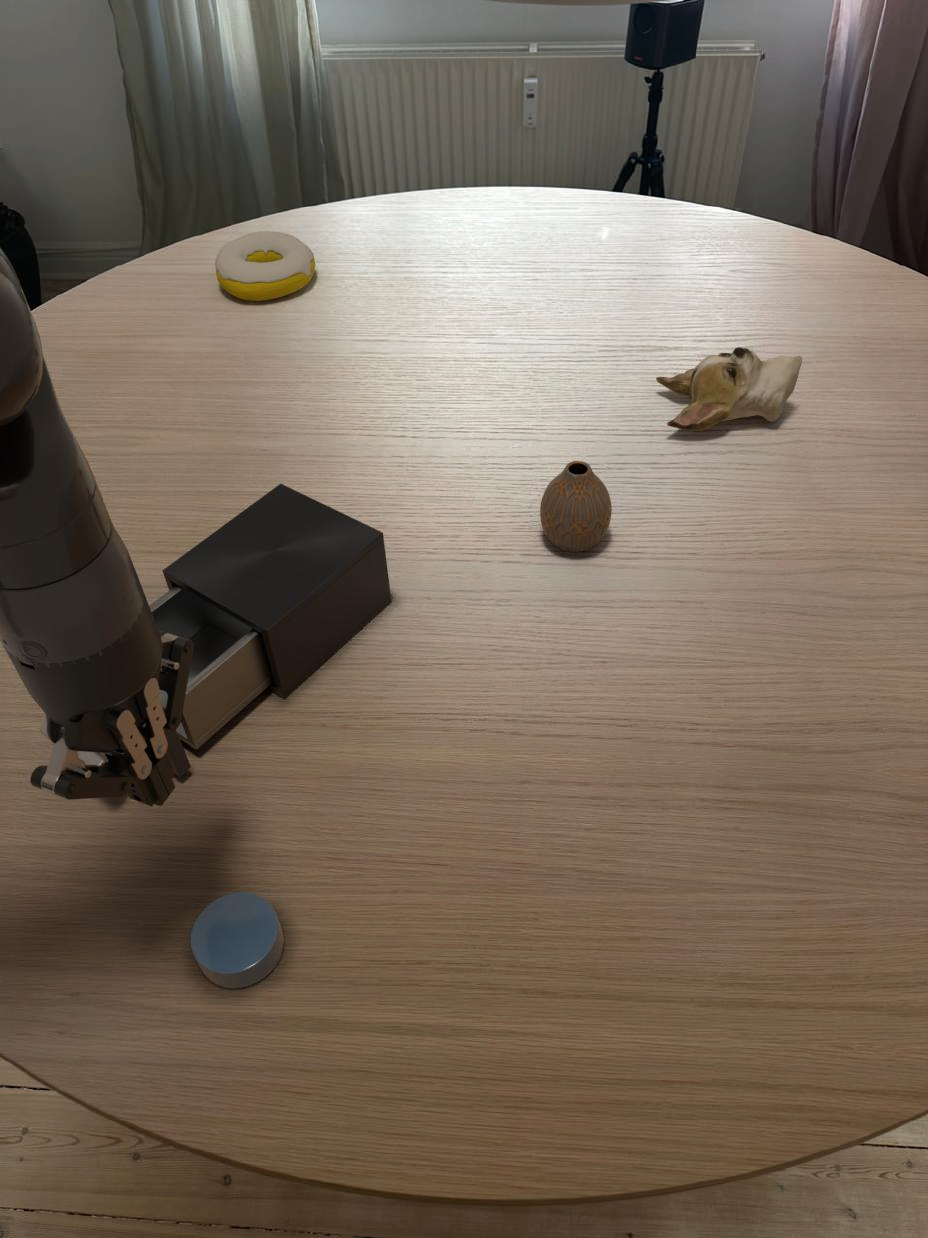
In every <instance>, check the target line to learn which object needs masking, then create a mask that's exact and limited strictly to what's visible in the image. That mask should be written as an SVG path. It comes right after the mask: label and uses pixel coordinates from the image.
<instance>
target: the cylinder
mask: <svg viewBox="0 0 928 1238" xmlns="http://www.w3.org/2000/svg"><path fill="white" fill-rule="evenodd" d="M284 946H285V936H284V932H283V929H282V925H281V922H280V920H279V916H278V914H277V912H276V910H275V908H274V906H273V905H272V904H271V903H270V902H269V901H268V900H267V899H265V898H264V897H263V896H261V895H259V894H256V893H252V892H246V891H239V892H231V893H228V894H225V895H223V896H220V897H219V898H216V899H215V900H213V901H211V902H210V903H209V904H208V905H206V906H205V908H204V909H202V910H201V912H200V914H199V915H198V917H197V918H196V919H195V922H194V923H193V926H192V928H191V933H190V947H191V948H190V949H191V951H192V954H193V956H194V959H195V961H196V962H197V964H198V967H199V968H200V970H201V972H202V973H203V975H204V976H205V977H206V979H207V980H208V981H209V982H211V983H213V984H214V985H216V986H218V987H221V988H224V989H233V990H234V989H244V988H247V987H250V986H253V985H255V984H257V983H259V982H261V981H262V980H264V979H265V978H266V977H267V976H268V975H269V974H271V973H272V971H273V970H274V968H276V966H277V965H278V963H279V961H280V960H281V957H282V954H283V951H284Z"/></svg>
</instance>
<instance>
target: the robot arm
mask: <svg viewBox="0 0 928 1238" xmlns="http://www.w3.org/2000/svg"><path fill="white" fill-rule="evenodd" d="M138 575H139V574H137V571H136V568H135V565H134V563H133V560H132V558H131V555H130V552H129V550H128V548H127V546H126V544H125V542H124V541H123V539H122V537H121V535H120V534H119V532H118V530H117V529H116V527H115V526H114V523H113V522H112V519H111V516H110V514H109V511H108V508H107V506H106V503H105V501H104V498H103V495H102V493H101V490H100V488H99V484H98V482H97V480H96V477H95V475H94V473H93V470H92V468H91V466H90V464H89V461H88V459H87V457H86V455H85V453H84V452H83V450H82V448H81V446H80V444H79V442H78V440H77V438H76V436H75V435H74V433H73V430H72V429H71V427H70V426H69V423H68V421H67V419H66V417H65V415H64V412H63V410H62V407H61V405H60V402H59V399H58V397H57V393H56V390H55V387H54V384H53V381H52V378H51V375H50V371H49V368H48V365H47V362H46V360H45V356H44V352H43V344H42V339H41V335H40V332H39V330H38V327H37V323H36V320H35V318H34V315H33V313H32V310H31V308H30V306H29V303H28V301H27V298H26V295H25V293H24V290H23V288H22V285H21V283H20V280H19V276H17V273H16V270H15V268H14V267H13V264H12V262H11V260H10V259H9V258H8V256H7V254H6V253H5V251H4V250H3V249H2V247H0V643H1V645H2V647H3V648H4V650H5V652H6V654H7V656H8V658H9V659H10V661H11V663H12V665H13V667H14V669H15V670H16V672H17V674H18V676H19V678H20V680H21V681H22V683H23V685H24V687H25V689H26V690H27V693H28V694H29V695H30V697H31V699H33V701H34V702H35V703H36V705H38V707H39V708H40V709H41V710H42V711H43V713H44V714H45V720H47V735H48V737H49V739H48V740H50V742H51V743H53V744H54V745H53V749H52V752H51V755H50V758H49V761H48V764H47V765H44V764H43V765H39V766H37V767H35V769H34V770H33V771H32V773H31V776H30V784H31V786H32V787H35V788H38V789H40V790H43V791H45V792H47V793H49V794H52V795H55V796H58V797H61V798H64V799H66V800H68V801H69V800H71V801H72V800H88V799H102V798H103V799H105V798H119V797H125V796H126V795H128V797H129V798H130V799H131V800H133V801H136V802H138V803H141V804H144V805H146V806H148V807H153V806H154V805H156V806H159V807H162V806H163V805H164V804H165V803H166V801H167V800H168V798H169V797H170V796H171V794H173V792H174V790H175V789H176V786H175V783H174V781H173V779H174V778H175V773H174V770H173V768H172V766H171V763H170V762H169V758H168V756H167V753H166V751H167V747H168V743H167V740H166V736H167V734H168V732H169V730H172V731H174V730H176V729H177V728H178V727H179V725H180V723H181V719H182V713H183V707H184V701H185V695H186V689H187V683H188V677H189V671H190V665H191V659H192V653H193V647H194V644H193V641H192V640H189V639H186V638H183V637H180V636H177V635H173V634H170V633H167V632H164V631H160V630H158V628H157V626H156V623H155V620H154V618H153V615H152V612H151V610H150V607H149V606H150V604H149V602H148V599H147V597H146V594H145V591H144V588H143V586H142V583H141V581H140V579H139V576H138ZM160 690H163V691H165V692H166V693H167V695H168V699H167V705H166V708H164V707H162V704H161V701H160V698H159V694H160ZM78 751H85V752H99V753H100V755H101V757H102V758H103V760H104V761H105V764H104V765H102V766H101V767H100V766H98V765H85V762H84V761H82V760H80V759H79V758H78Z"/></svg>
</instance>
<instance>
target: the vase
mask: <svg viewBox="0 0 928 1238" xmlns="http://www.w3.org/2000/svg"><path fill="white" fill-rule="evenodd" d="M612 511H613V510H612V500H611V495H610V493H609V491H608V488H607V486H606V484H605V483H604V482H603V481H602V480H601V478H599V476H598V475H596V474H595V473H594V470H593V469H592V467H591V465H590V464H589V463H587V462H585V461H582V460H573V461H570V462H568V463H567V464H566V465H565V467H563V470H562V471H561V472H560V473H559V474H557V475H556V476H555V477H554V478H553V479H552V480H551V481H549V483H548V484H547V486H546V488H545V489H544V492H543V495H542V498H541V501H540V506H539V516H540V517H539V518H540V524H541V528H542V529H543V532H544V534H545V536H546V538H547V539H548V540H549V541H550V542H551V543H552V544H553V545H554V546H556V547H558V548H559V549H561V550H563V551H565V552H566V551H567V552H572V553H577V552H579V553H580V552H584V551H586V550H589V549H591V548H593V547H594V546H596V545H598V543H599V542H600V541H602V539H603V538H604V537H605V535H606V534H607V531H608V529H609V527H610V524H611V519H612Z"/></svg>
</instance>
